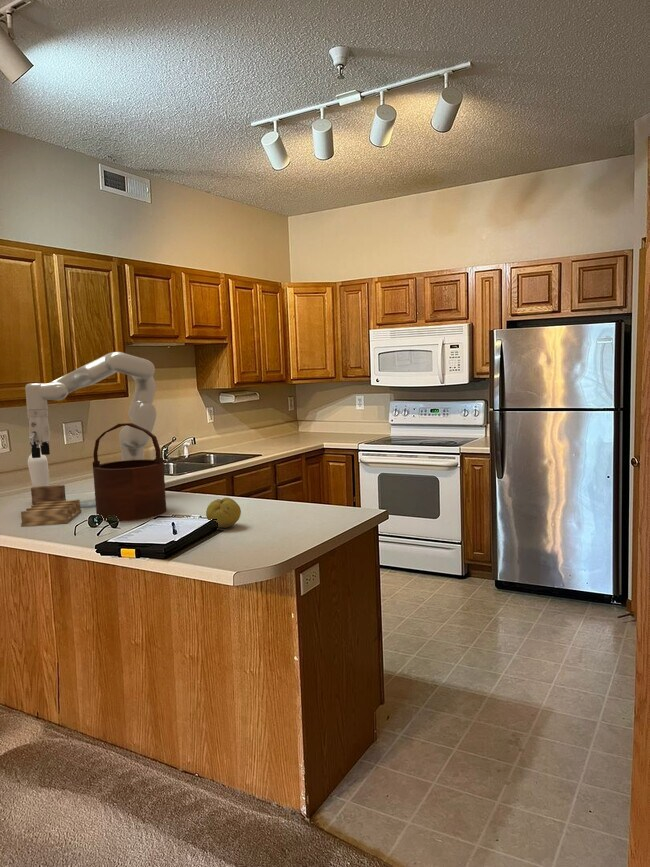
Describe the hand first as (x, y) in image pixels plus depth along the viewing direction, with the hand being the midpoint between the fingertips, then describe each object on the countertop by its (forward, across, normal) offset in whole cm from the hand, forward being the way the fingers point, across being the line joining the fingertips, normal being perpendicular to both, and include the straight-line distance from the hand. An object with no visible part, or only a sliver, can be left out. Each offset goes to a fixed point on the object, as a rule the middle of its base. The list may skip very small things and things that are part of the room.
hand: (41, 456), depth 247 cm
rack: (+22, -19, -10) cm, 30 cm away
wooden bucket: (+22, -16, -38) cm, 47 cm away
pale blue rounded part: (+22, +5, -17) cm, 28 cm away
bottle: (+22, +17, +7) cm, 28 cm away
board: (+22, -3, -3) cm, 22 cm away
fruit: (+22, -47, -76) cm, 92 cm away
